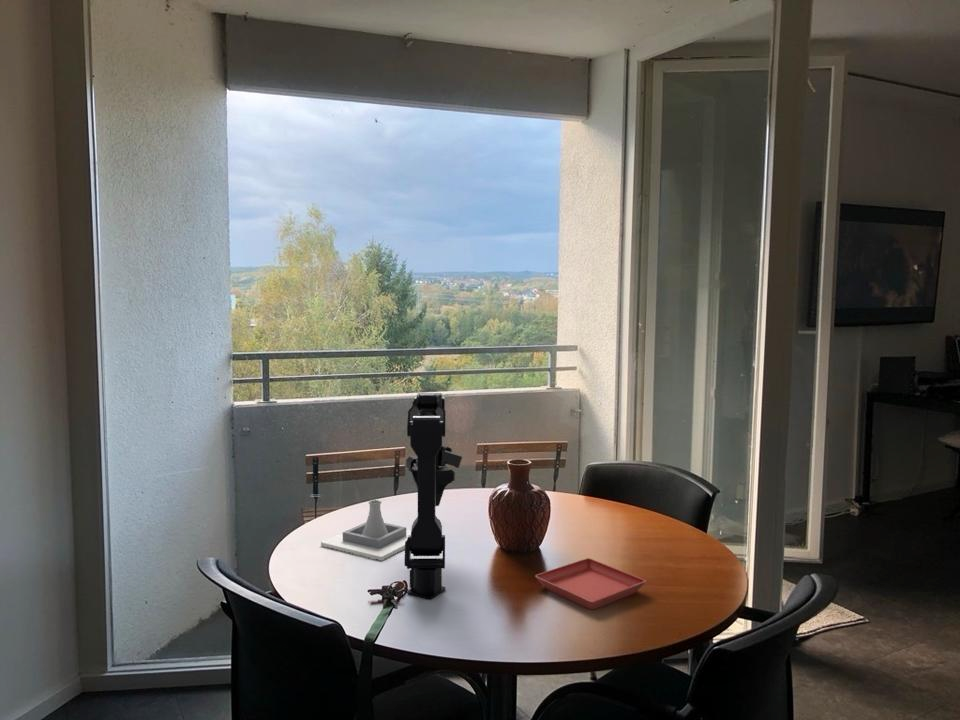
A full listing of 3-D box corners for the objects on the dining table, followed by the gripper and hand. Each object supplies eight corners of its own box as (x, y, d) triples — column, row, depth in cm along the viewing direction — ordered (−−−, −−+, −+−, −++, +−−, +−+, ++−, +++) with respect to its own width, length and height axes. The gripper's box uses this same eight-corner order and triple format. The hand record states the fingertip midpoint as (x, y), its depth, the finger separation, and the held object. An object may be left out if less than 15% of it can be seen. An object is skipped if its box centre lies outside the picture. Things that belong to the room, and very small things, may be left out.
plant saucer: (533, 588, 165) (533, 574, 165) (588, 569, 176) (588, 556, 176) (591, 617, 151) (591, 601, 151) (647, 594, 162) (647, 580, 162)
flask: (373, 544, 188) (373, 507, 187) (355, 538, 193) (355, 501, 192) (394, 537, 194) (394, 501, 193) (376, 531, 198) (376, 495, 198)
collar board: (426, 537, 197) (426, 525, 197) (381, 560, 180) (381, 548, 180) (369, 524, 207) (369, 513, 207) (320, 545, 190) (320, 534, 190)
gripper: (474, 445, 180) (473, 506, 182) (443, 432, 197) (443, 488, 198) (433, 450, 175) (433, 512, 177) (405, 435, 192) (405, 493, 193)
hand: (429, 501), depth 186 cm, fingers open, 9 cm apart
